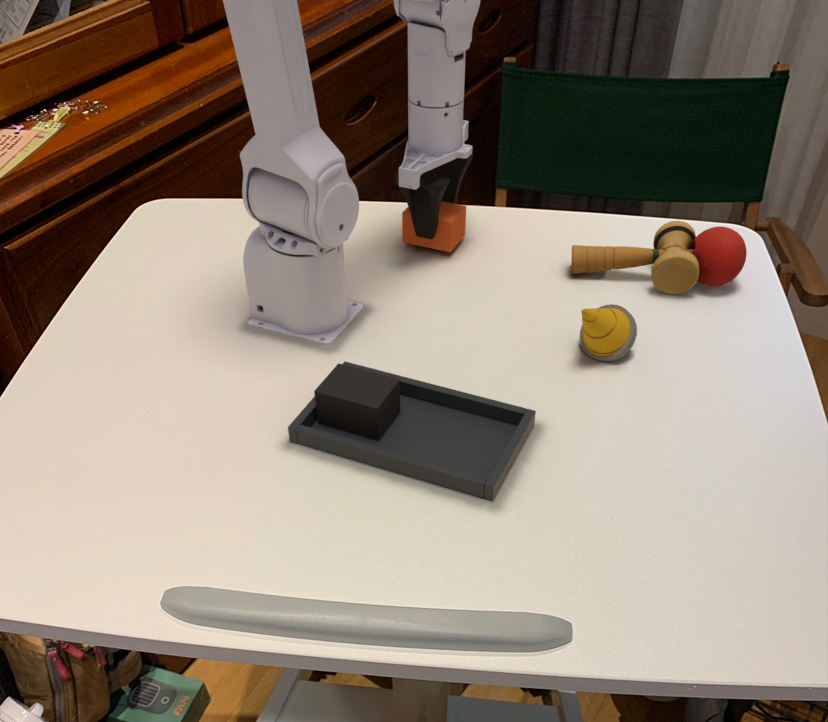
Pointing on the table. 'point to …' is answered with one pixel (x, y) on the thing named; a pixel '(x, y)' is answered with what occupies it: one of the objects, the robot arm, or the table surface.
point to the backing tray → (432, 437)
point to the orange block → (438, 228)
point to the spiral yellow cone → (607, 332)
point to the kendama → (673, 257)
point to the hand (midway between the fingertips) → (433, 227)
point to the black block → (358, 401)
